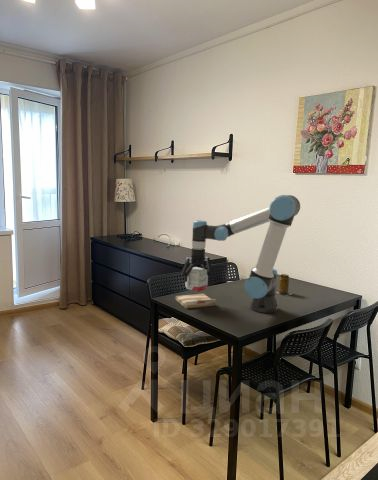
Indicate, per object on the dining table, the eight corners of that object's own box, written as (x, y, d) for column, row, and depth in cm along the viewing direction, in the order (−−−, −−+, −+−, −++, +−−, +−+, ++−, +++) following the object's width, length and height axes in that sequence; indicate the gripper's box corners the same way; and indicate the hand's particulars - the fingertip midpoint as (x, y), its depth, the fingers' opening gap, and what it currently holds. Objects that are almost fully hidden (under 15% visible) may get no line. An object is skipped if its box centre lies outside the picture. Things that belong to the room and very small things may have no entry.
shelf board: (215, 305, 208) (215, 299, 207) (186, 308, 201) (186, 302, 200) (203, 296, 223) (203, 291, 222) (175, 299, 216) (175, 293, 215)
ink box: (206, 289, 211) (207, 268, 209) (197, 292, 204) (199, 271, 202) (194, 285, 216) (195, 266, 214) (185, 288, 209) (186, 268, 207)
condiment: (282, 291, 243) (283, 273, 241) (293, 294, 236) (294, 276, 235) (275, 292, 238) (276, 274, 236) (286, 296, 232) (287, 277, 230)
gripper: (214, 246, 214) (211, 283, 217) (176, 247, 205) (174, 285, 208) (220, 249, 207) (217, 286, 211) (181, 250, 198) (179, 289, 201)
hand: (196, 286), depth 209 cm, fingers closed on ink box, 11 cm apart
